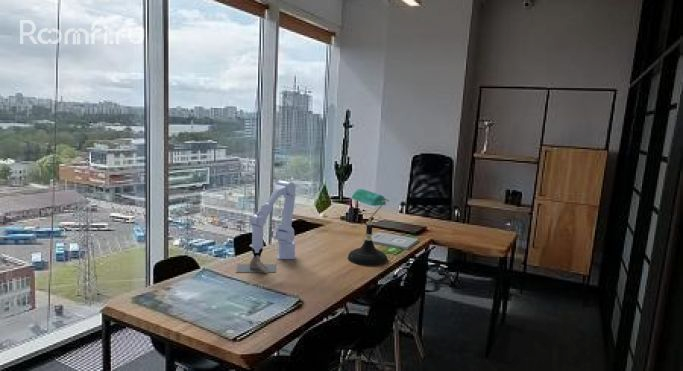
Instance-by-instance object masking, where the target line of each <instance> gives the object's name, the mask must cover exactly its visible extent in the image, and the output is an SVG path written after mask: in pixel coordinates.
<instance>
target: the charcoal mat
mask: <svg viewBox="0 0 683 371" xmlns="http://www.w3.org/2000/svg"><path fill="white" fill-rule="evenodd" d="M263 264H264V263H263ZM264 266H266V267H267V268H268V272H267V273H265V272H263V271H262V270H260V269H253V268H251V267H250V263H248V264H246V263H245V264H244V263H241V264H239V263H238V264H237V267H236V271H235V273H236V274H237V273H242V274H243V273H246V274H247V273H249V274H250V273H251V274H252V273H253V274H255V273H258V274H259V273H260V274H261V273H265V274H268V273H270V274H271V273H277V264H275V263H273V264H270V263H267V264H266V263H265V264H264Z"/></svg>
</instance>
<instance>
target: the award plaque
mask: <svg viewBox="0 0 683 371" xmlns="http://www.w3.org/2000/svg"><path fill="white" fill-rule="evenodd" d="M371 238H372V242H373V244H374V245H379V246H384V245H385V247H389V246H390V247H391V248H394V247H397V248H396V249H400V248H402V249H401V250H406V251H408V250H409V249H410V248H412V246H414V245H415V244H416V243H418V242H419V238H416V237H410V236H404V235H403V236H402V235H398V234H391V233H387V232H385V233H384V232H379V231H377V232H376V233H372V236H371ZM365 240H366V238H363V243H364V242H365ZM390 247H389V248H390Z"/></svg>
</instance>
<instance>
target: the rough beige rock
mask: <svg viewBox="0 0 683 371" xmlns="http://www.w3.org/2000/svg"><path fill="white" fill-rule="evenodd" d="M249 264H250V267H251V268H253V269H260V270H262V271H263V272H265V274H268V273H267V272H268V268H267V267H266V266H264V263H263V262H261V256H258V255H256V257H255V256H254V255H253V257H252V258H251V259H250V262H249Z"/></svg>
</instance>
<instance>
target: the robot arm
mask: <svg viewBox="0 0 683 371" xmlns="http://www.w3.org/2000/svg"><path fill="white" fill-rule="evenodd" d="M296 190H297V186H296V185H295V183H294V182H291V181H284V180H282V179H281V180H280V179H279V180H278V181H276V183H275V185H274V190H273V191H272V193H271V195H270V197H269V198H268V200H267V201H266V202H264V203H262V204H261V206H260V208H259V209H258V210H257V212H256V213H255V214H254V215H252V216H251V218H250V220H249V222H250V224H251V228H252V231H251V232H252V234H251V235H252V236H251V240H252V241H251V244H249V247H250V248H251V252H252V254H253V257H254V256H255V257H256V255H258V256H260V257H261V255H262V253H263V249H264V226H265V225H266V223H267V219H268V216H269V215H270V214H271V212H272V211H273V206H274V204H275V203H276V202H277V201H278V199H279V198H280V197H281V196H284V204H283V205H284V206H283V212H282V220H281V225H279V226H278V227H277V230H276V233H275V239H276V240H277V243H278V249H277V250H278V252H277V260H295V257H296V256H295V255H296V251H295V250H296V249H295V248H296V243H295V242H294V239H295V237H296V236H295V229H294V228H293V227H292V223H293V215H294V207H295V203H296V202H295V201H296Z"/></svg>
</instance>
